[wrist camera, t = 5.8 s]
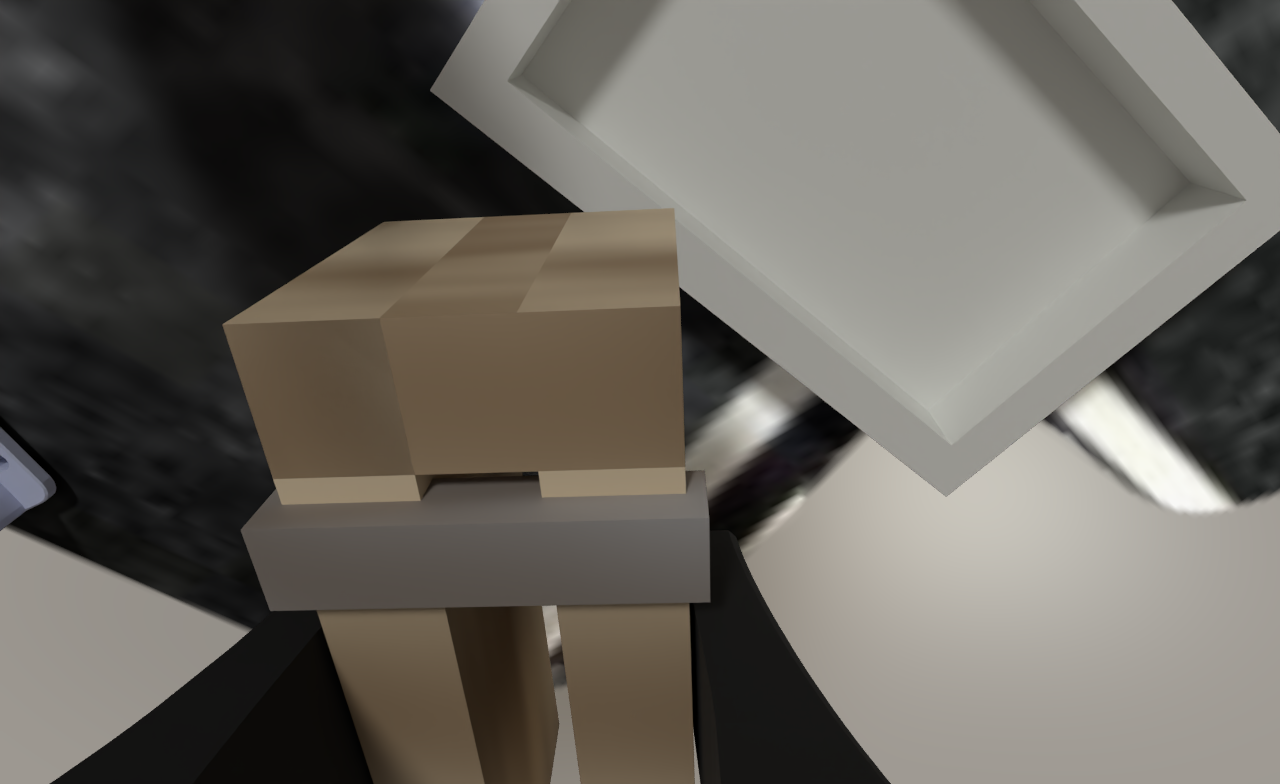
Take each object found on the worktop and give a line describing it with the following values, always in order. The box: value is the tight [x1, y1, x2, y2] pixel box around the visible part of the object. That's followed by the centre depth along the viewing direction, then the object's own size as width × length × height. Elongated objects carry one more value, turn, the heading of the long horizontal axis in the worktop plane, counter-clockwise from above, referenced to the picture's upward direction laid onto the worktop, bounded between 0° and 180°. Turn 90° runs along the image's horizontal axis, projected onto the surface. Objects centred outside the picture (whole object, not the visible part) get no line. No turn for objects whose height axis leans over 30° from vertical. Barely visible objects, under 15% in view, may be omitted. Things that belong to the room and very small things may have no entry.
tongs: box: [223, 208, 710, 784], centre depth 10 cm, size 10×4×4 cm, turn 3°
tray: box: [430, 0, 1280, 496], centre depth 14 cm, size 14×9×2 cm, turn 51°
